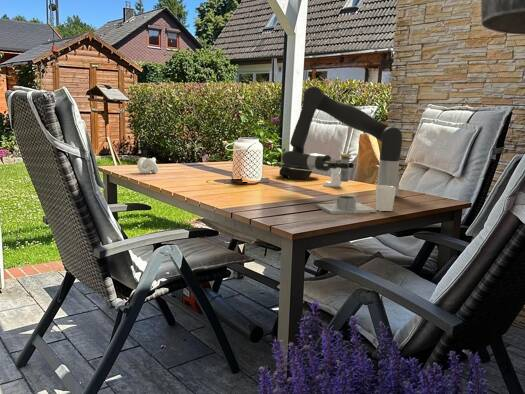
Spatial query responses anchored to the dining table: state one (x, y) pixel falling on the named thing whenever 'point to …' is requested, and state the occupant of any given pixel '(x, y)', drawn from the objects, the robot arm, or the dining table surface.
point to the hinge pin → (344, 172)
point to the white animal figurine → (147, 165)
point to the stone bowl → (294, 171)
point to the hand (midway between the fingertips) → (350, 165)
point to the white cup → (385, 197)
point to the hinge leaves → (345, 206)
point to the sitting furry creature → (334, 179)
